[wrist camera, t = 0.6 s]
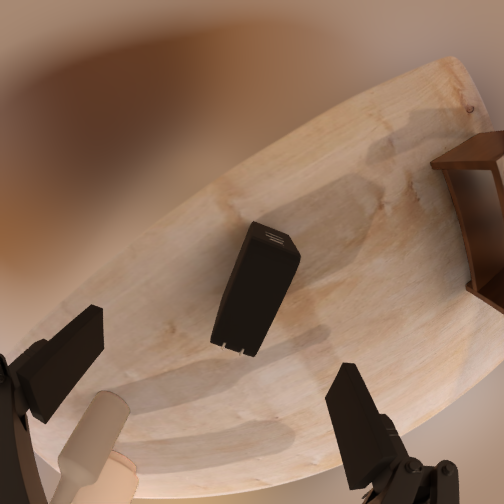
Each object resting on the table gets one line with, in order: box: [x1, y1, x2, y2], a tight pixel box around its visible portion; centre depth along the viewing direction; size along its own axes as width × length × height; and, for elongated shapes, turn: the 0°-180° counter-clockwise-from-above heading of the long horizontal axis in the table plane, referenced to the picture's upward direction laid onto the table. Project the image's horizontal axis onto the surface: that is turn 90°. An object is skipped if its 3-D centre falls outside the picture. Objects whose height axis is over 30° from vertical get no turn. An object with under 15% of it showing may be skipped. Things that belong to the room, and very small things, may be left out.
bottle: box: [50, 391, 130, 504], centre depth 24 cm, size 7×7×28 cm
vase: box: [71, 450, 139, 504], centre depth 30 cm, size 13×13×28 cm
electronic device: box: [210, 221, 301, 357], centre depth 26 cm, size 4×10×10 cm, turn 159°
